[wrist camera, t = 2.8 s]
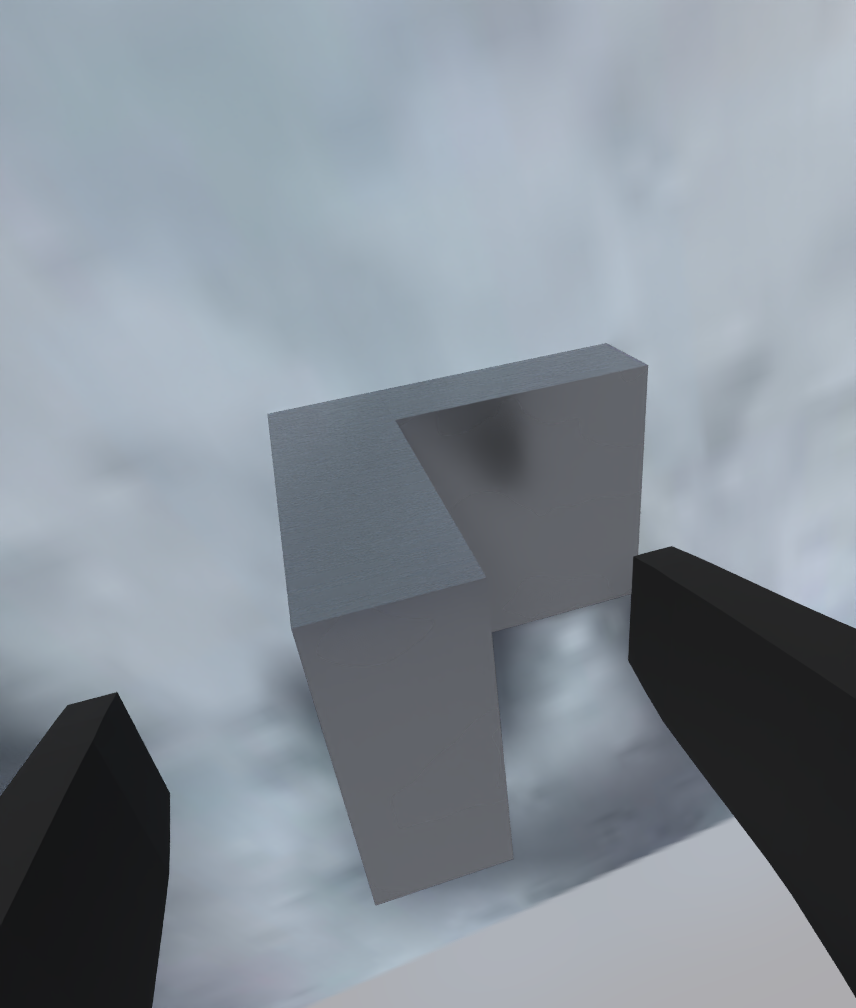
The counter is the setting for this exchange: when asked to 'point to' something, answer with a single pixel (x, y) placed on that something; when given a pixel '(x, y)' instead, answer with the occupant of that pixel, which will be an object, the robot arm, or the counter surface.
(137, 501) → the counter surface
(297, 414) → the bracket
